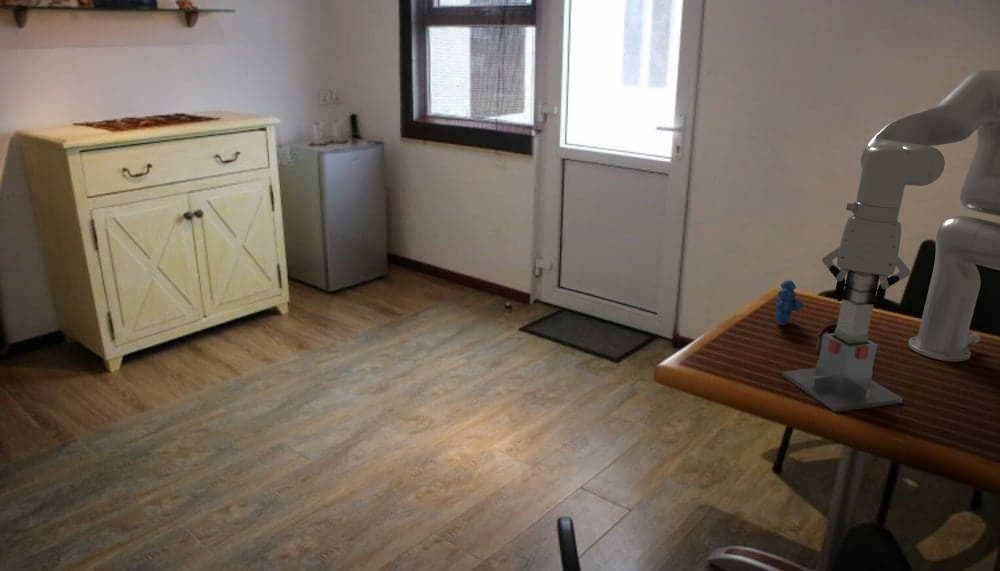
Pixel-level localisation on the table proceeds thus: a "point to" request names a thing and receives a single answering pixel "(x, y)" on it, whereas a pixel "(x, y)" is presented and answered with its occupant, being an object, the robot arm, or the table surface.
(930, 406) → the table surface
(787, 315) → the blue lumpy cluster
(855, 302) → the column
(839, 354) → the stand base
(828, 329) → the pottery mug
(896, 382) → the table surface
